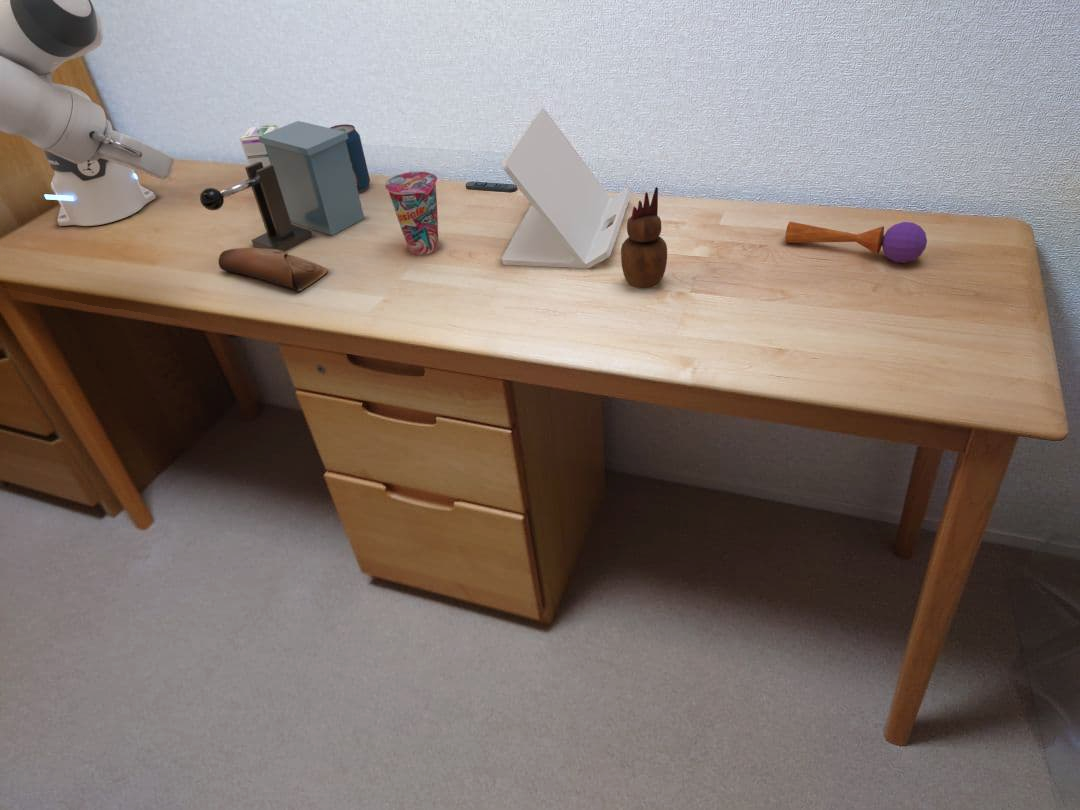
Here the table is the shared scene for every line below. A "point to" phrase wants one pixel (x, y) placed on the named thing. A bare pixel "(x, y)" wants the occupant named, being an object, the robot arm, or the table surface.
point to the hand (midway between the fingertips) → (166, 172)
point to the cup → (416, 209)
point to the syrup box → (256, 145)
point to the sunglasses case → (272, 266)
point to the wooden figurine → (644, 246)
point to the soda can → (356, 156)
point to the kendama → (868, 239)
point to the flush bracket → (274, 212)
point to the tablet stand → (560, 202)
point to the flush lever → (224, 193)
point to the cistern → (314, 176)
